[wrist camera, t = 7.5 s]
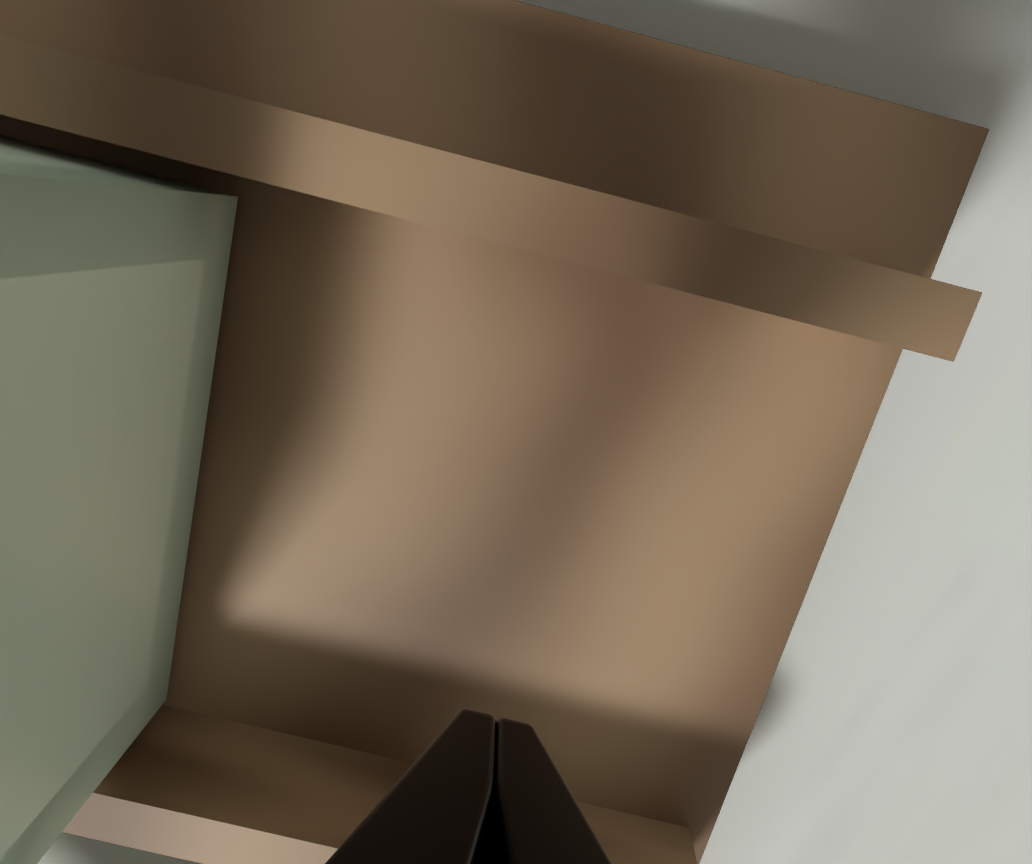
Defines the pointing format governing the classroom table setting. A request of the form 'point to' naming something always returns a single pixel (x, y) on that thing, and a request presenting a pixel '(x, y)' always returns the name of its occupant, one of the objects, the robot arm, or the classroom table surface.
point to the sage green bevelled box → (94, 462)
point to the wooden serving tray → (496, 390)
